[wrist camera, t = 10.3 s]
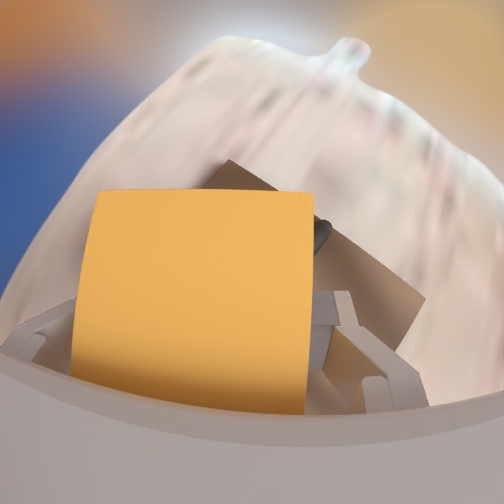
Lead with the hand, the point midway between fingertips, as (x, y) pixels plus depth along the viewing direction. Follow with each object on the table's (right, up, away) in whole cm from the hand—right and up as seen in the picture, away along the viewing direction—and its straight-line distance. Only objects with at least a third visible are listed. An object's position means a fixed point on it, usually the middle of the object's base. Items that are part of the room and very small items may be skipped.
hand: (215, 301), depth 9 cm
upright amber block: (0, -2, +4) cm, 4 cm away
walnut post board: (+1, -4, +11) cm, 12 cm away
